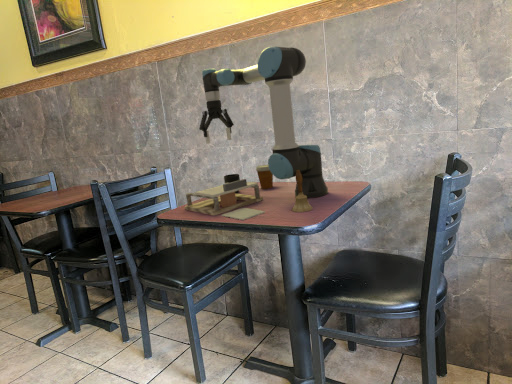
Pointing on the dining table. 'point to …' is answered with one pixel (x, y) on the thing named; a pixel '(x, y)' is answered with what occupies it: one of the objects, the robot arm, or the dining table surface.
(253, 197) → the open wooden rack
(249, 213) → the pad
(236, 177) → the mug
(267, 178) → the disposable coffee cup
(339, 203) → the dining table surface
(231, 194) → the block
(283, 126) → the robot arm
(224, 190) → the sliding lid
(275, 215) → the dining table surface
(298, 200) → the hand bell
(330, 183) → the dining table surface
